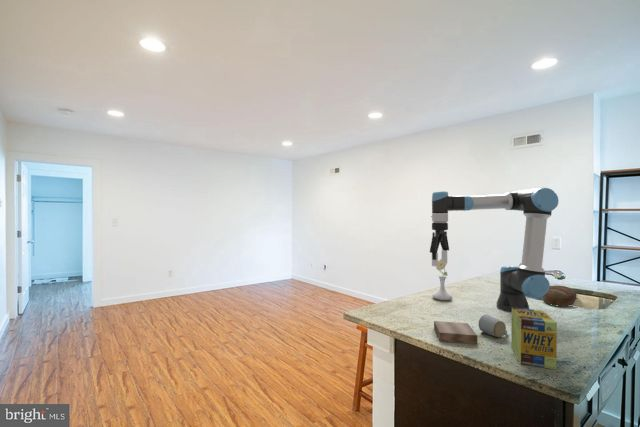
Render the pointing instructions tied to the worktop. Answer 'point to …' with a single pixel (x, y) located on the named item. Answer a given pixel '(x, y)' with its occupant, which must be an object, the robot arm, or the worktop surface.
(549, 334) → the protein box
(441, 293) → the flower in vase
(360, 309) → the worktop surface
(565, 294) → the bread
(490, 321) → the ceramic mug
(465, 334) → the walnut stand
